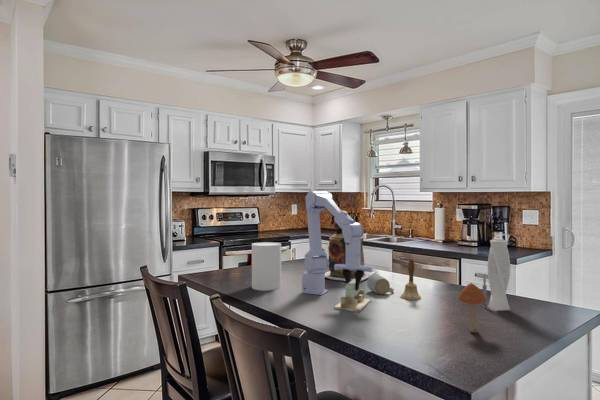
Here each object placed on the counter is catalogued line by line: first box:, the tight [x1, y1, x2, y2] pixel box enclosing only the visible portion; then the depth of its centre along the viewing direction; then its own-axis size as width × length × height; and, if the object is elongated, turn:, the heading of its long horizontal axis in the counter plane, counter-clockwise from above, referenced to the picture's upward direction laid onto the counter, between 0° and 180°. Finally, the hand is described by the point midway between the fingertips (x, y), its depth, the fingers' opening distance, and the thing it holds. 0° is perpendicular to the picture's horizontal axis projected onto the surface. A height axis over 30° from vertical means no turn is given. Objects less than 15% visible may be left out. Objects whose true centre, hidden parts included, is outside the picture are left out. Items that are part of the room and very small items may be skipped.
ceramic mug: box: [366, 273, 395, 296], centre depth 173 cm, size 11×8×8 cm
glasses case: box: [344, 279, 361, 298], centre depth 153 cm, size 2×12×5 cm, turn 157°
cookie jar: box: [325, 215, 378, 282], centre depth 207 cm, size 25×25×32 cm
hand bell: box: [400, 258, 422, 301], centre depth 164 cm, size 8×8×16 cm
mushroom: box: [457, 282, 486, 333], centre depth 123 cm, size 8×8×15 cm
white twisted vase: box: [481, 233, 511, 312], centre depth 148 cm, size 8×8×28 cm
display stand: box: [333, 288, 372, 313], centre depth 154 cm, size 10×16×4 cm, turn 157°
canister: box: [251, 241, 282, 292], centre depth 184 cm, size 14×14×20 cm
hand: (353, 289), depth 153 cm, fingers closed on glasses case, 2 cm apart
